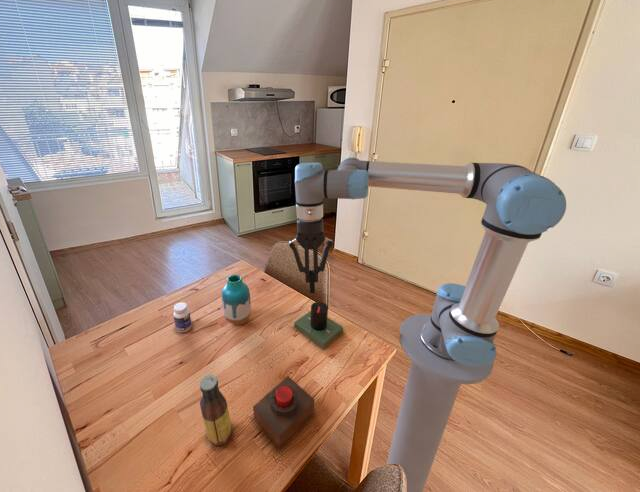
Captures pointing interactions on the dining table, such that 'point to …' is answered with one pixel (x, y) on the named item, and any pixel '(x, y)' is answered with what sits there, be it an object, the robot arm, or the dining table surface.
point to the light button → (283, 396)
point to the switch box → (283, 413)
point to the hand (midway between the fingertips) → (312, 291)
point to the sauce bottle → (214, 411)
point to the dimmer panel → (318, 337)
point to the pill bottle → (182, 317)
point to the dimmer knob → (319, 316)
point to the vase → (236, 300)
